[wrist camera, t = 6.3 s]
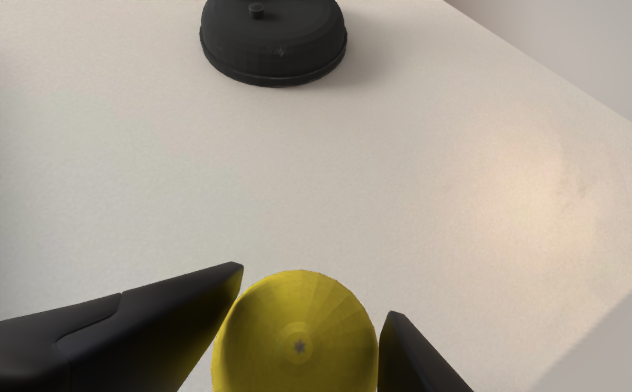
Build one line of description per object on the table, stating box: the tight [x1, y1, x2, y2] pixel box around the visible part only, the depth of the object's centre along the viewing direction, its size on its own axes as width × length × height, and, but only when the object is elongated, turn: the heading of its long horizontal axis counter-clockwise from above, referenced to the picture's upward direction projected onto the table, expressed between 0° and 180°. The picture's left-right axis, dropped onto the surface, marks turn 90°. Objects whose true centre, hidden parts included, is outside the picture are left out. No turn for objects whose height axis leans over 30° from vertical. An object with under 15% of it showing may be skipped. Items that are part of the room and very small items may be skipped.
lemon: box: [211, 270, 379, 392], centre depth 10 cm, size 6×6×8 cm
